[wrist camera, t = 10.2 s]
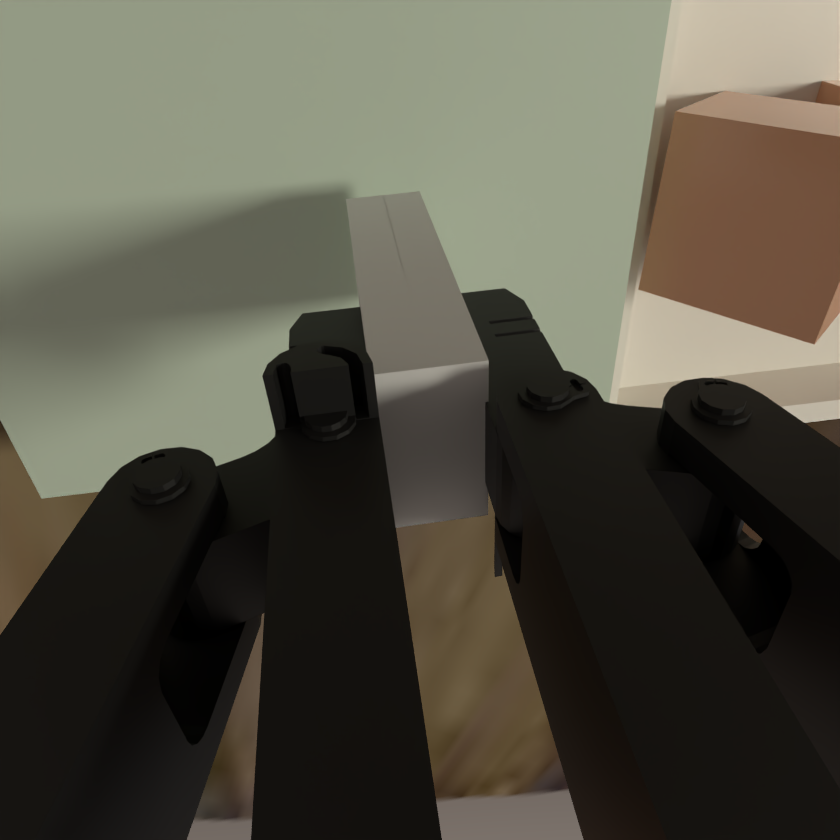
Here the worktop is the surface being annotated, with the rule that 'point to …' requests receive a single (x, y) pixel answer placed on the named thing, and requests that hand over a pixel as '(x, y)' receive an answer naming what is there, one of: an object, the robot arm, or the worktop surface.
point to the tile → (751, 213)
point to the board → (290, 194)
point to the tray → (678, 87)
